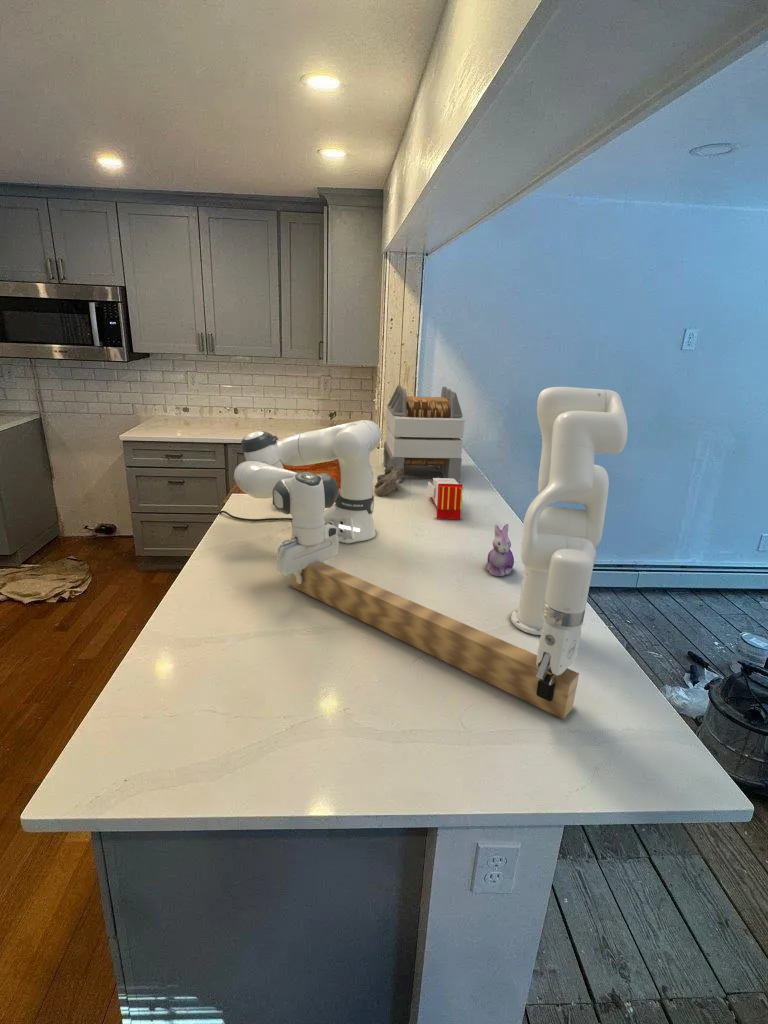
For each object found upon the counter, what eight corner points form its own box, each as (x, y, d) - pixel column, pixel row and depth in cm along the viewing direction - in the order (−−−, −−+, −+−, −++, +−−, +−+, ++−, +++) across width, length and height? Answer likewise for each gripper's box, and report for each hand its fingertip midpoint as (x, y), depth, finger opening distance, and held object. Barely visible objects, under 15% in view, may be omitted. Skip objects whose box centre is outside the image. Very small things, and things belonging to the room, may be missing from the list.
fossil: (373, 472, 257) (399, 454, 252) (386, 488, 260) (412, 470, 255) (367, 491, 238) (396, 472, 233) (381, 508, 240) (410, 490, 235)
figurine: (497, 580, 168) (503, 533, 163) (477, 566, 177) (482, 521, 172) (522, 574, 173) (529, 528, 167) (501, 561, 181) (506, 517, 176)
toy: (455, 474, 240) (467, 485, 211) (453, 505, 243) (464, 520, 214) (426, 473, 240) (434, 484, 211) (425, 504, 243) (432, 519, 213)
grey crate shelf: (382, 463, 289) (386, 382, 275) (445, 464, 293) (451, 384, 279) (390, 482, 257) (394, 392, 243) (460, 483, 261) (468, 394, 247)
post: (291, 586, 159) (291, 559, 156) (303, 581, 162) (303, 554, 160) (563, 719, 112) (570, 683, 109) (572, 708, 115) (579, 673, 112)
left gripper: (286, 547, 143) (287, 595, 148) (342, 526, 158) (341, 571, 163) (270, 540, 147) (271, 587, 152) (326, 520, 162) (326, 564, 166)
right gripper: (564, 637, 100) (549, 721, 106) (598, 603, 113) (584, 680, 119) (525, 622, 105) (513, 703, 111) (562, 591, 117) (550, 666, 123)
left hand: (308, 579), depth 157 cm, fingers closed on post, 4 cm apart
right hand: (550, 690), depth 115 cm, fingers closed on post, 4 cm apart
